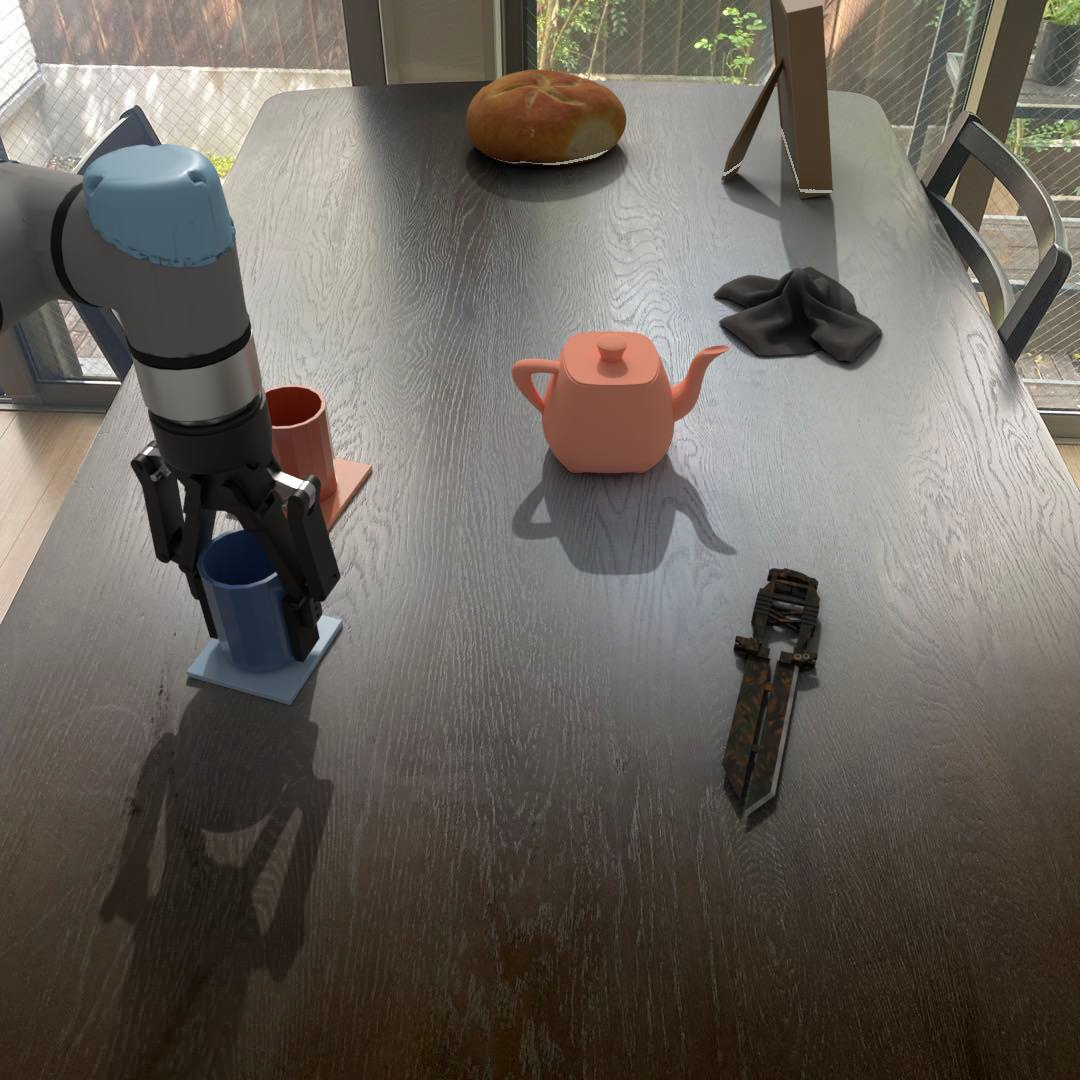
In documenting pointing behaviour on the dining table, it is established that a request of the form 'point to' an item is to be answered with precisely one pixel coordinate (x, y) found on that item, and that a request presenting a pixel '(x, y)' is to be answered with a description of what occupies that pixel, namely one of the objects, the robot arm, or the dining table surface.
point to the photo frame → (796, 95)
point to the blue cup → (245, 602)
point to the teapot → (611, 400)
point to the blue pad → (269, 683)
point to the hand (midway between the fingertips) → (264, 637)
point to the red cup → (302, 435)
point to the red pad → (343, 488)
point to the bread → (544, 118)
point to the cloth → (797, 315)
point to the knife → (769, 685)
